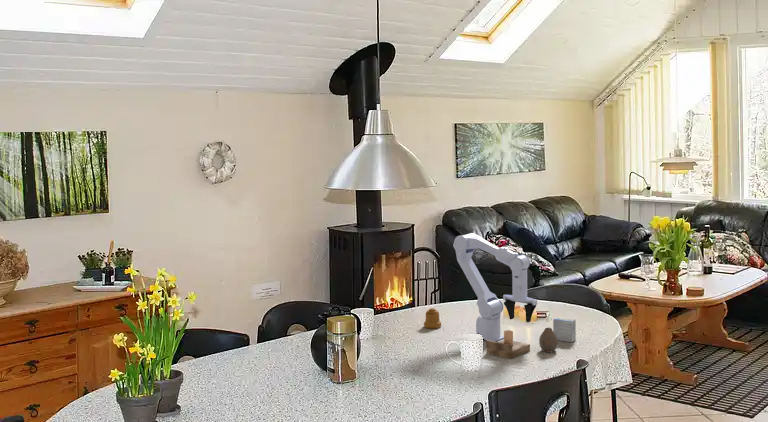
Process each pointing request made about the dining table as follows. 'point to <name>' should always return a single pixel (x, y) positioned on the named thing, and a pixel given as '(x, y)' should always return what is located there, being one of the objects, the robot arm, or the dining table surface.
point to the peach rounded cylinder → (508, 337)
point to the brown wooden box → (506, 349)
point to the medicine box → (565, 329)
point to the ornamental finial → (432, 319)
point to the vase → (548, 340)
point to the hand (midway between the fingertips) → (520, 320)
